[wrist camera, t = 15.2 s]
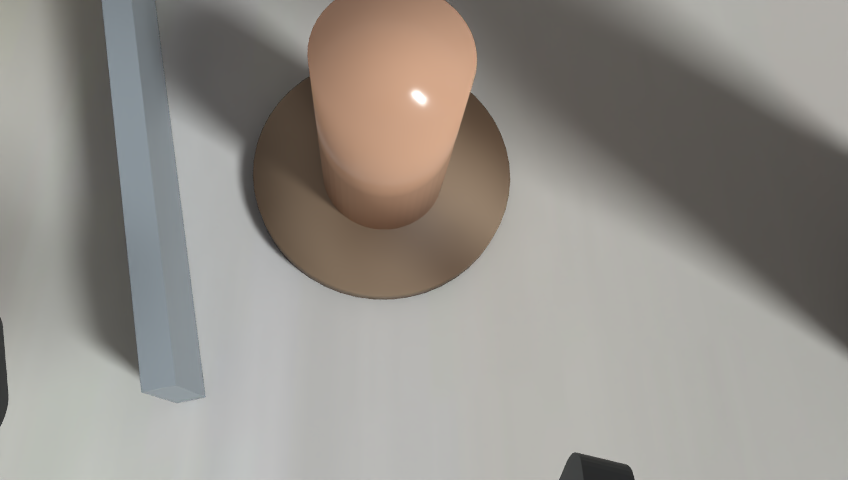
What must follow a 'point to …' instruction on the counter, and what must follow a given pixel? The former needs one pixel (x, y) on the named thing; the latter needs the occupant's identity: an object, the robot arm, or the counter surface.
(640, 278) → the counter surface
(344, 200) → the peach rounded cylinder
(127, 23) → the low wall
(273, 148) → the walnut coaster
